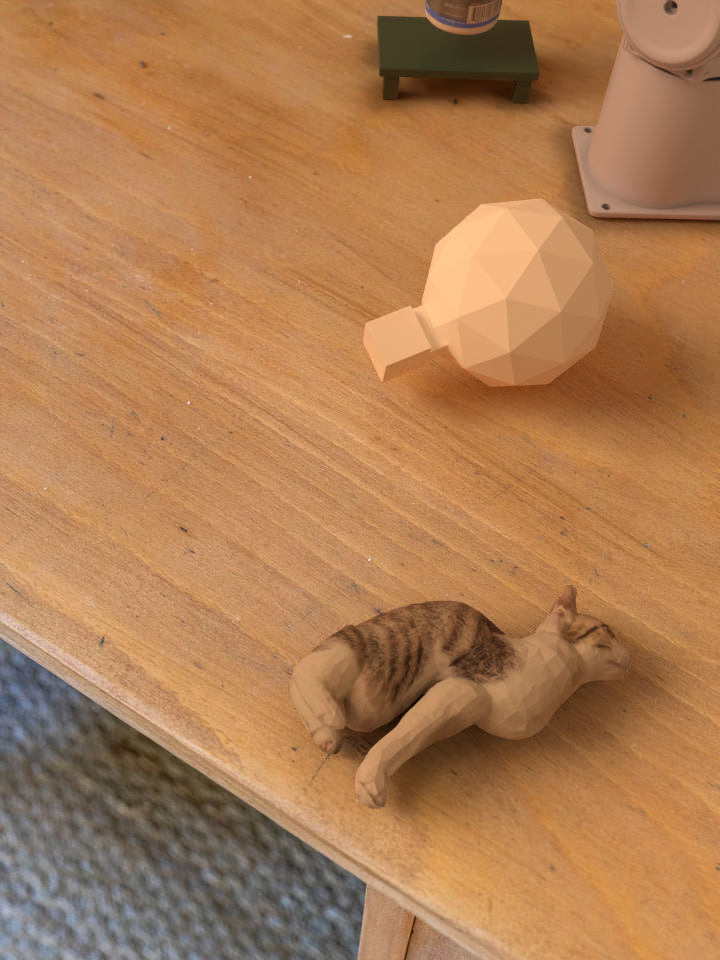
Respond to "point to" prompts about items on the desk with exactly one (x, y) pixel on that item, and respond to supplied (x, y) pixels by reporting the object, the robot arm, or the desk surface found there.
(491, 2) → the pill bottle
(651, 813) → the desk surface
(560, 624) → the figurine
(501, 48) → the green footed tray
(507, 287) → the perfume bottle
